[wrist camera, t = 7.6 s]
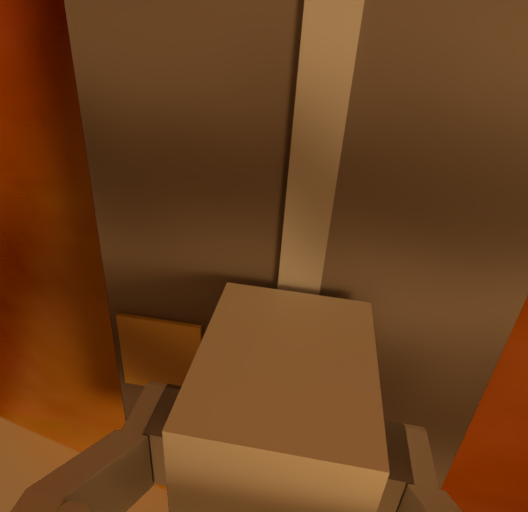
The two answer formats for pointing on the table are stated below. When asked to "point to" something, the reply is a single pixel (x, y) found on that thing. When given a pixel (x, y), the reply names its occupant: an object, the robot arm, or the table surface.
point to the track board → (313, 178)
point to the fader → (279, 409)
